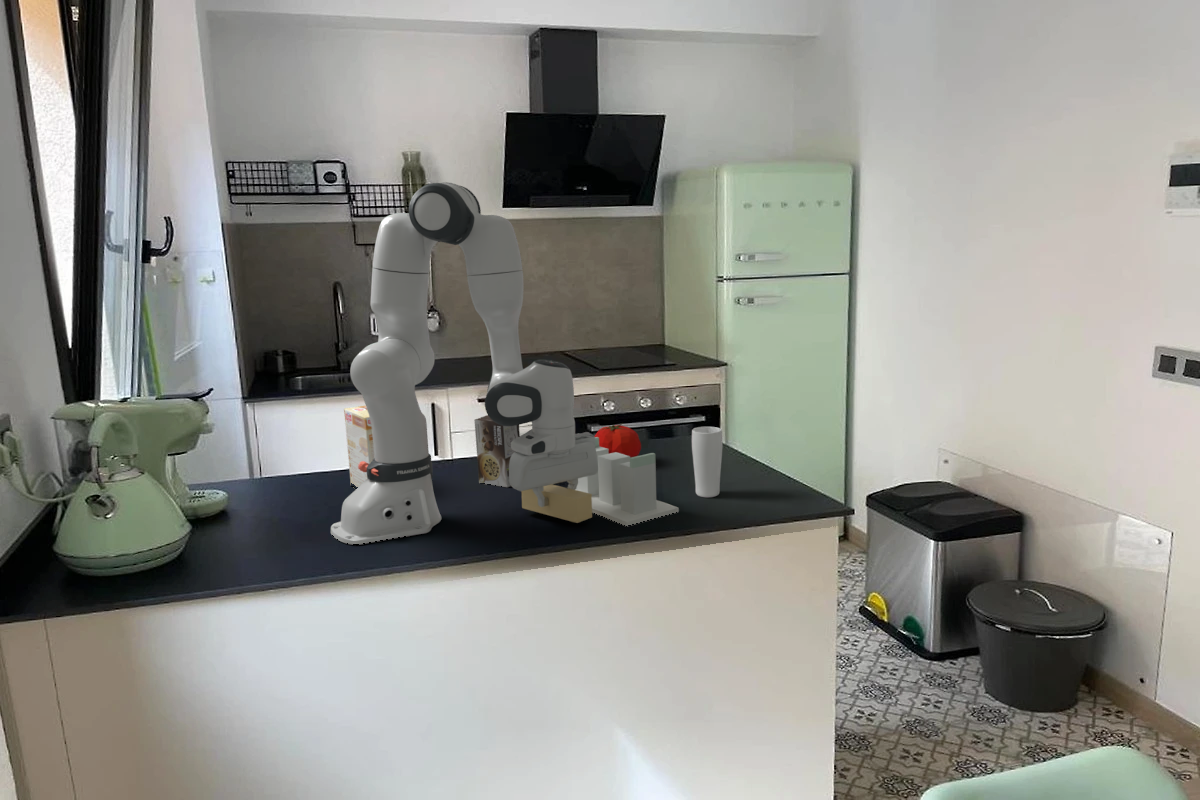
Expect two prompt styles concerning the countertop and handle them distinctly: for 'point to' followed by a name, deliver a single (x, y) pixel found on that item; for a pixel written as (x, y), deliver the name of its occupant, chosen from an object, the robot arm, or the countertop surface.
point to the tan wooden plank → (560, 503)
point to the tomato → (619, 440)
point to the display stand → (624, 488)
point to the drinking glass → (707, 460)
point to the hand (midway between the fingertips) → (556, 502)
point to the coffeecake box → (358, 441)
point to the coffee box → (494, 450)
